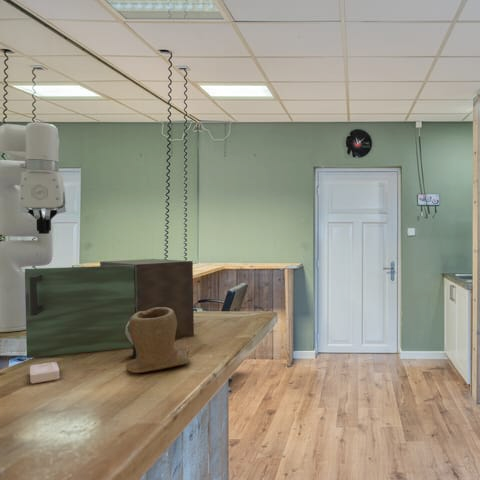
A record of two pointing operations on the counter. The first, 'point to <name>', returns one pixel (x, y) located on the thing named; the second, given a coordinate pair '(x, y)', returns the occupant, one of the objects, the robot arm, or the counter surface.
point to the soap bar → (44, 372)
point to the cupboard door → (78, 309)
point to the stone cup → (155, 341)
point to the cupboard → (164, 289)
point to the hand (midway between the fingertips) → (44, 233)
